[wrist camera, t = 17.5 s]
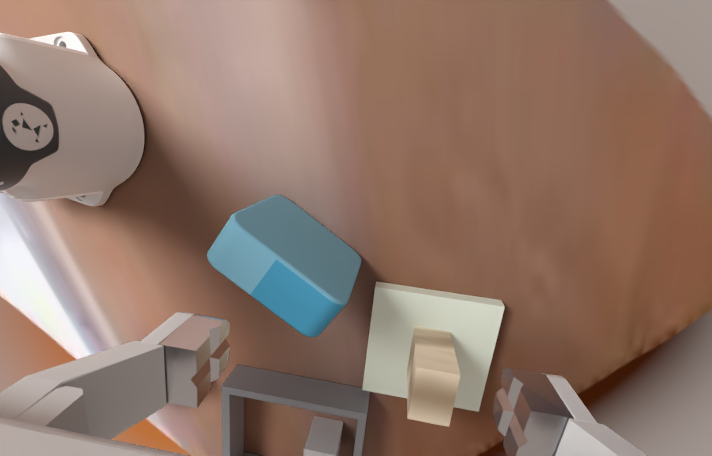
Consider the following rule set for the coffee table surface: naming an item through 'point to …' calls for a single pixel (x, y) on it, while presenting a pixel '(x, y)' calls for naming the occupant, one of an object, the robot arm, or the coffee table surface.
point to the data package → (287, 263)
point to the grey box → (324, 437)
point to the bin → (286, 401)
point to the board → (434, 311)
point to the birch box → (432, 376)
